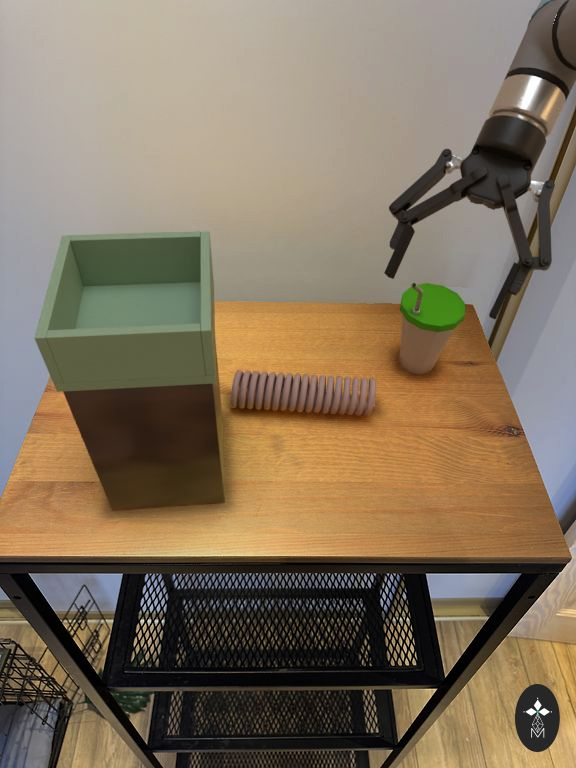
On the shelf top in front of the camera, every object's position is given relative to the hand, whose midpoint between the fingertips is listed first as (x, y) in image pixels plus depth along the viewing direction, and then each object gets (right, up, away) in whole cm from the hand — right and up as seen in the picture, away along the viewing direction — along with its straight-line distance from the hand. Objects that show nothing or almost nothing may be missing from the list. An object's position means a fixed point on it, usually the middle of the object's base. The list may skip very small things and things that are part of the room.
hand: (438, 296), depth 70 cm
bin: (-31, -6, -20) cm, 38 cm away
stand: (-32, -19, -5) cm, 38 cm away
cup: (-1, -8, +6) cm, 10 cm away
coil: (-17, -14, +1) cm, 21 cm away
